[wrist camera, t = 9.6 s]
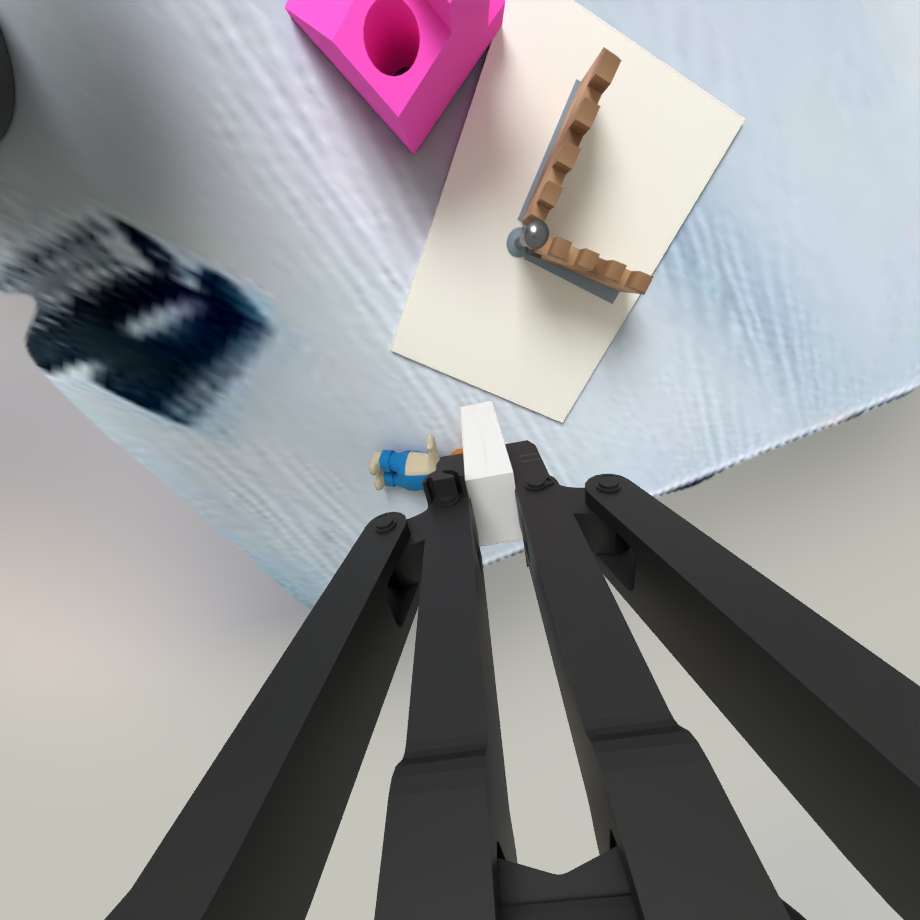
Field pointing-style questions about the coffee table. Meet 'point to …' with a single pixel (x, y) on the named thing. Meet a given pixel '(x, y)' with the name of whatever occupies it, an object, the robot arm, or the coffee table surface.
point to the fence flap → (592, 266)
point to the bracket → (402, 52)
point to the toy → (405, 466)
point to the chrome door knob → (533, 235)
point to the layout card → (574, 216)
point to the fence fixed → (572, 135)
